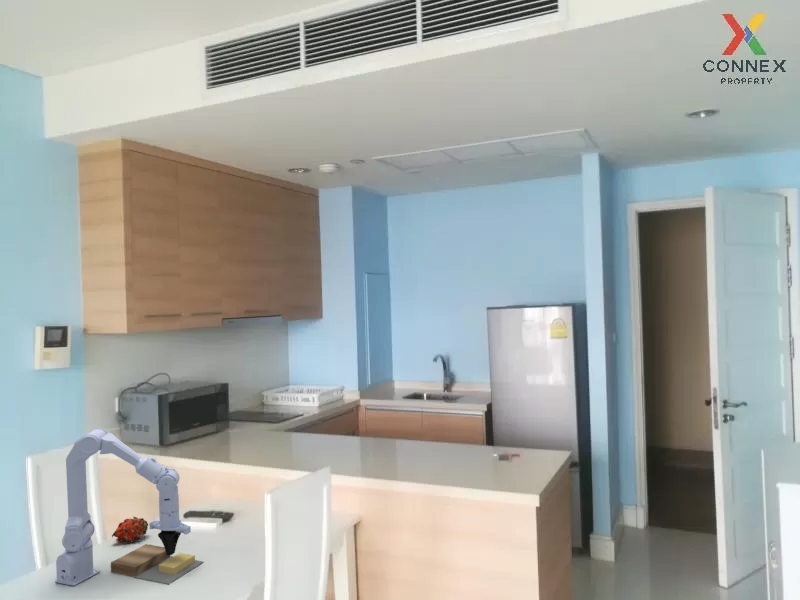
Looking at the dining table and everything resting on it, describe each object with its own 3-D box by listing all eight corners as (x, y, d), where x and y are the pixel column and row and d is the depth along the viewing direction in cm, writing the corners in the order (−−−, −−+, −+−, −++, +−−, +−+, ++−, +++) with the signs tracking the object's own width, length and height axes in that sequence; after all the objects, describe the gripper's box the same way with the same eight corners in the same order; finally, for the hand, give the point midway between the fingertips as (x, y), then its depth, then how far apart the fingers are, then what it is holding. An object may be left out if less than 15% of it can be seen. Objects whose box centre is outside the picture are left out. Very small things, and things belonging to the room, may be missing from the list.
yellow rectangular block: (158, 565, 182) (158, 571, 182) (174, 567, 179) (174, 574, 179) (179, 552, 190) (179, 559, 190) (194, 555, 188) (195, 561, 188)
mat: (168, 584, 174) (168, 583, 174) (134, 577, 179) (134, 576, 179) (203, 562, 188) (203, 561, 188) (171, 556, 192) (171, 555, 192)
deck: (135, 577, 179) (135, 567, 179) (111, 572, 183) (110, 562, 183) (170, 557, 192) (169, 548, 192) (146, 553, 196) (145, 544, 196)
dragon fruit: (152, 540, 210) (115, 555, 203) (144, 521, 215) (108, 535, 208) (152, 526, 205) (115, 540, 198) (144, 507, 210) (107, 520, 203)
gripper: (196, 508, 186) (198, 551, 186) (160, 503, 192) (162, 545, 192) (180, 516, 180) (182, 561, 180) (143, 511, 185) (145, 554, 185)
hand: (170, 553), depth 185 cm, fingers closed
